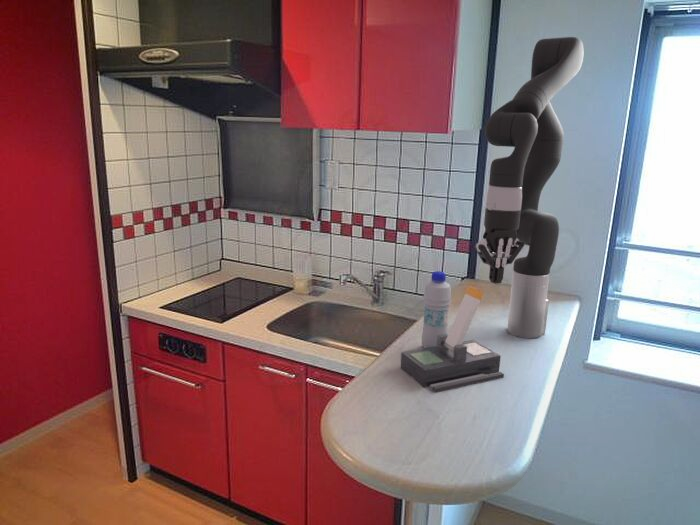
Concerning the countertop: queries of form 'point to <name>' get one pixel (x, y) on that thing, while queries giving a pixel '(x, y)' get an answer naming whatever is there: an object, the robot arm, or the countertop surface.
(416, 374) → the switch box
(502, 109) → the robot arm
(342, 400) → the countertop surface
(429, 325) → the bottle
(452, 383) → the dark grey bar
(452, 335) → the lever
